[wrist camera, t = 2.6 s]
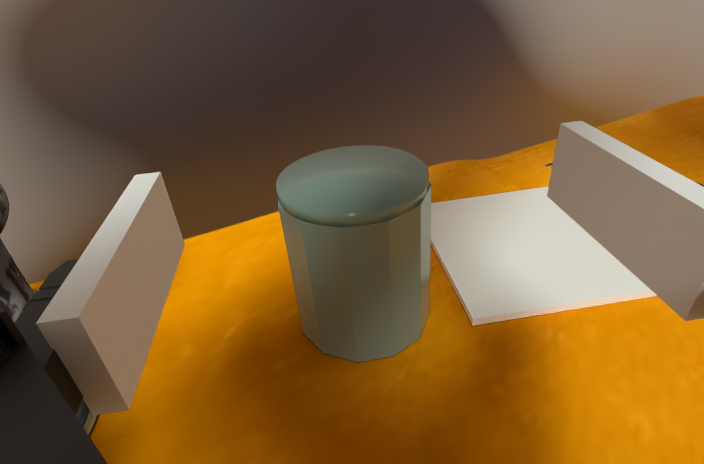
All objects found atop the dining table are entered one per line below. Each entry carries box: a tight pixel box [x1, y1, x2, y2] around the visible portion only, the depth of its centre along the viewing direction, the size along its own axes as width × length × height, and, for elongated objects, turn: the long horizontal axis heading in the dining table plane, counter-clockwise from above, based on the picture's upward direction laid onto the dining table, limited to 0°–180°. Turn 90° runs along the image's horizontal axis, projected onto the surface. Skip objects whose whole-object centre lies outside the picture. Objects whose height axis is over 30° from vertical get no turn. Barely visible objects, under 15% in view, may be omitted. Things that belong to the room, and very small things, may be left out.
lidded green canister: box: [276, 145, 431, 362], centre depth 29 cm, size 9×9×11 cm
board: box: [430, 187, 657, 326], centre depth 37 cm, size 16×16×1 cm
